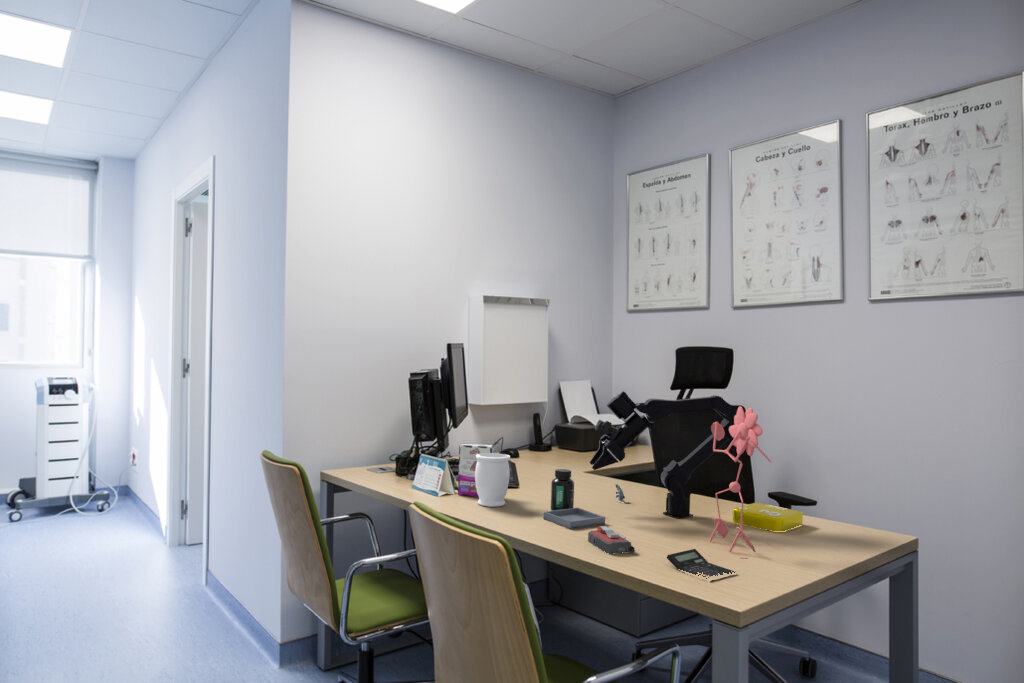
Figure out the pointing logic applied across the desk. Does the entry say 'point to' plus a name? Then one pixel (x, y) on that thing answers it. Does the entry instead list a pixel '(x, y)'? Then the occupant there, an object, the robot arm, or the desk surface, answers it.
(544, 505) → the desk surface
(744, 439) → the figurine
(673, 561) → the calculator
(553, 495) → the supplement bottle
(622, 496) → the sculpture
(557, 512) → the tray
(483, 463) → the jar
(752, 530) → the desk surface
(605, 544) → the walkie-talkie
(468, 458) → the candy bar box
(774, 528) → the element tile
